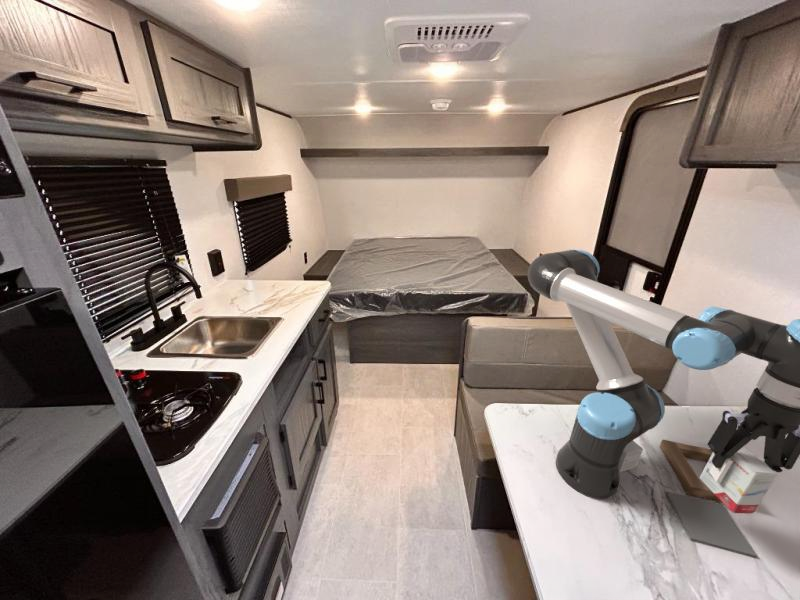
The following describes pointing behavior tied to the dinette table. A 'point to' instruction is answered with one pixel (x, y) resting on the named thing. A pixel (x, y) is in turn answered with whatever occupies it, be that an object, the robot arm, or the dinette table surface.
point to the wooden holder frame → (688, 467)
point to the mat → (709, 524)
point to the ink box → (741, 482)
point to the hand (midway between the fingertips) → (732, 481)
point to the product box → (630, 456)
